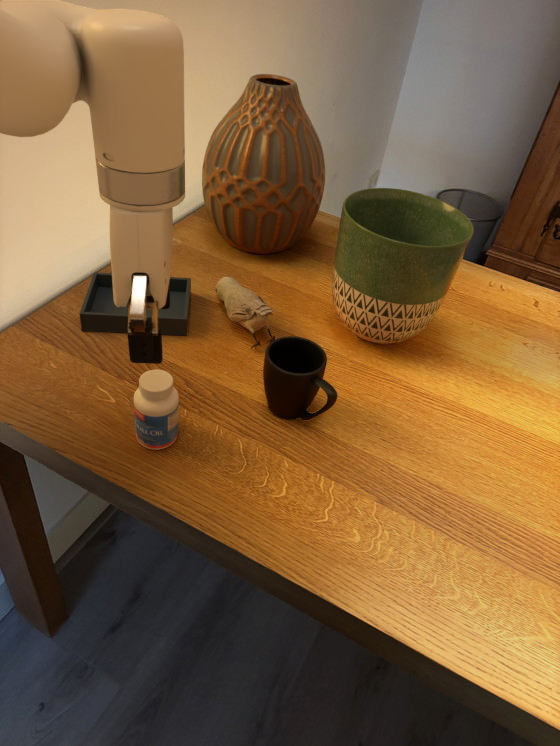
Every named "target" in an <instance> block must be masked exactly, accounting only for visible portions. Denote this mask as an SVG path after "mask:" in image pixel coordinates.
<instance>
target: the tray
mask: <svg viewBox="0 0 560 746" xmlns="http://www.w3.org/2000/svg"><path fill="white" fill-rule="evenodd" d="M169 288H170V307H169V309H159V320H158V329H161V333H162V336H178V337H179V336H181V337H187V336H188V330H189V318H190V308H191V307H190V306H191V298H192V297H191V294H192V278H191V277H179V276H178V277H176V276H175V277H174V276H170V280H169ZM128 303H129V301H128ZM128 303H127V305H126V307H120V308H119V307H117V306H116V305H115V304H114V299H113V283H112V272H97V271H96V272H95V271H94V272H93V274H92V277H91V280H90V281H89V285H88V289H87V290H86V294H85V296H84V299H83V302H82V305H81V308H80V311H79V322H80V326H81V331H82V332H99V333H118V334H119V333H120V334H127V330H128ZM146 316H147V318H146V320H150V321H151V323H152V309H146Z"/></svg>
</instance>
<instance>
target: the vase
mask: <svg viewBox="0 0 560 746" xmlns="http://www.w3.org/2000/svg"><path fill="white" fill-rule="evenodd" d="M201 169H202V171H201V189H202V190H201V191H202V197H203V203H204V206H205V210H206V213H207V216H208V218H209V221H210V224H212V225H213V227H214V229H215V230H216V232H217V233H218V234H219V235H220V236H221V237H222V238H223V239H224V240H225V241H226V242H227V243H228V244H229V245H230V246H232V247H234V248H236V249H238V250H240V251H243V252H247V253H251V254H256V255H271V254H276V253H277V254H278V253H280V252H283V251H285V250H287V249H289V248H290V247H292V246H293V245H295V244H297V242H299V241H300V240H301V239H302V238H303V237H304V236H305V235H307V233H308V232H309V230H310V228H311V227H312V225H313V224H314V221H315V220H316V218H317V216H318V213H319V210H320V208H321V205H322V200H323V197H324V193H325V186H326V162H325V154H324V150H323V145H322V142H321V140H320V137H319V135H318V133H317V130H316V129H315V127H314V125H313V123H312V120H311V118H310V117H309V115H308V113H307V111H306V109H305V107H304V104H303V101H302V99H301V96H300V91H299V87H298V83H297V82H296V81H295V80H294V79H291V78H289V77H286V76H284V75H278V74H272V73H271V74H270V73H258V74H254V75H252V76H250V77H249V79H248V81H247V84H246V85H245V88H244V90H243V92H242V93H241V95H240V97H239V98H237V101H236V102H235V103H234V104H233V105H232V106H231V107H230V108H229V110H228V111H227V112H226V113H225V114H224V116H223V117H222V118H221V120H220V121H219V122H218V123H217V125H216V126H215V128H214V129H213V132H212V133H211V136H210V137H209V141H208V142H207V146H206V149H205V153H204V157H203V162H202V168H201Z"/></svg>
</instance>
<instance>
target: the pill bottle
mask: <svg viewBox="0 0 560 746" xmlns="http://www.w3.org/2000/svg"><path fill="white" fill-rule="evenodd" d="M179 412H180V397H179V392H178V390H177V389H176V388H175V387H174V378H173V376H172V374H171V373H169V372H168V371H167V370H163V369H159V368H157V369H149V370H147V371H145V372H143V373H142V374H141V375H140V377H139V378H138V387H137V389H136V390H135V392H134V394H133V413H134V429H135V438H136V440H137V442H138V443H139V444H140V445H141V446H142V447H144V448H146V449H149V450H154V451H155V450H157V451H158V450H163V449H166V448H169V447H170V446H172V445H173V444H174V443H175V442H176V440H177V439H178V436H179V422H180V420H179V419H180V417H179V416H180V413H179Z"/></svg>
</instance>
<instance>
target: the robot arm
mask: <svg viewBox="0 0 560 746" xmlns="http://www.w3.org/2000/svg"><path fill="white" fill-rule="evenodd" d="M181 31H182V30H181V29H180V27H179V26H178V24H177V23H176V22H175V21H174V20H172V19H171V18H169V17H167V16H165V15H162V14H160V13H156V12H152V11H145V10H141V9H134V8H133V9H132V8H104V9H103V8H102V9H99V8H94V7H90V6H89V7H88V6H83V5H80V4H76V3H73V2H67V1H63V0H0V134H2V135H6V136H10V137H17V138H32V137H37V136H42V135H45V134H46V133H48V132H50V131H52V130H54V129H55V128H57V127H58V126H59V125H60V124H61V122H63V120H64V119H65V117H66V116H67V114H68V113H69V111H70V110H71V107H72V105H73V104H75V103H77V102H80V101H82V102H84V103H86V104H87V106H88V108H89V113H90V123H91V131H92V139H93V140H92V141H93V148H94V158H95V168H96V175H97V176H96V177H97V182H98V183H97V184H98V194H99V197H100V199H101V200H102V201H103V202H104V203H106V204H107V205H109V248H110V251H109V252H110V265H111V266H110V267H111V273H112V283H113V299H114V304H115V305H116V306H117V307H119V308H120V307H126V305H127V303H128V301H129V303H128V330H127V333H126V334H127V344H128V355H129V361H130V362H131V363H133V364H156V365H158V364H159V365H160V364H162V363H163V335H162V333H161V329H158V320H159V309H169V307H170V288H169V280H170V277H171V273H172V265H173V250H174V249H173V248H174V216H173V215H174V211H173V208H174V207H177V206H179V205H181V204H182V203H183V202H184V200H185V198H186V148H185V147H186V142H185V141H186V140H185V137H186V136H185V135H186V134H185V133H186V132H185V51H184V50H185V48H184V38H183V34H182V32H181ZM146 309H152V323H151V321H150V320H146V318H147V316H146Z"/></svg>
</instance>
